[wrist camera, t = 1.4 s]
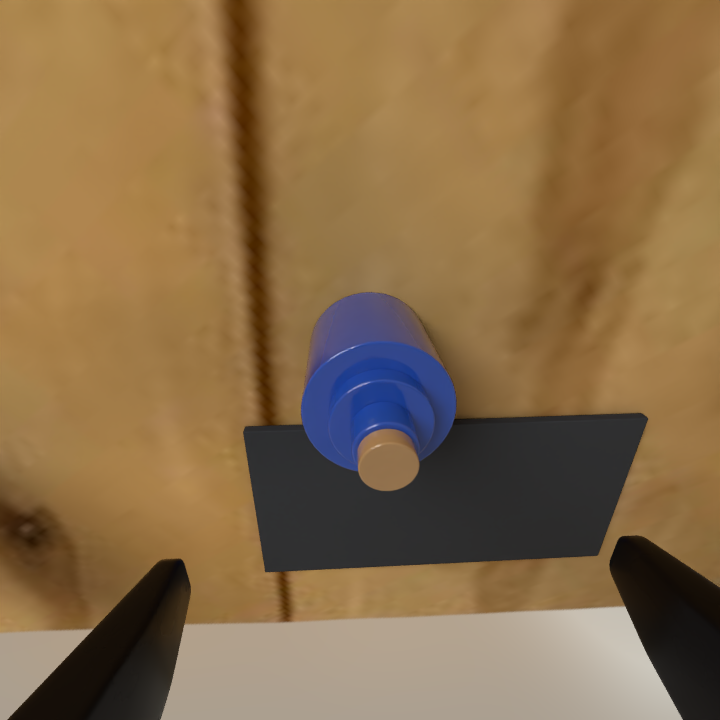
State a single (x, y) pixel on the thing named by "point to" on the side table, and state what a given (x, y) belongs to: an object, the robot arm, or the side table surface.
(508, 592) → the side table surface
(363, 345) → the flask
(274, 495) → the mat
